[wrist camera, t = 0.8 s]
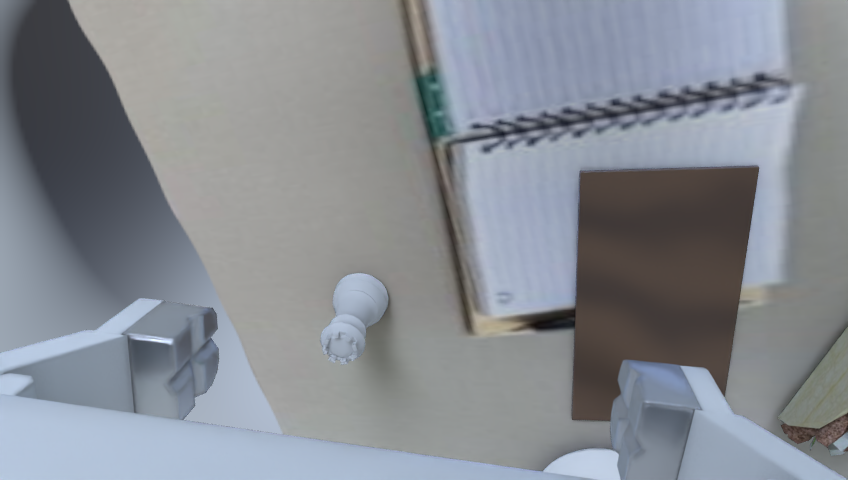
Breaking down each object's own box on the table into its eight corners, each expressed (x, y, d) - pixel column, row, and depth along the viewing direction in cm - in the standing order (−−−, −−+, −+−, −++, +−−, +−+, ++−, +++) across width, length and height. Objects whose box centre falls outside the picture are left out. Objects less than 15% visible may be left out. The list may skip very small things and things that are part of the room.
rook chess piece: (338, 317, 52) (311, 374, 45) (333, 269, 51) (305, 321, 43) (390, 319, 52) (372, 377, 45) (388, 270, 50) (369, 323, 43)
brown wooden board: (579, 170, 45) (580, 172, 45) (757, 165, 43) (759, 167, 43) (571, 416, 54) (572, 420, 53) (719, 420, 52) (720, 423, 52)
